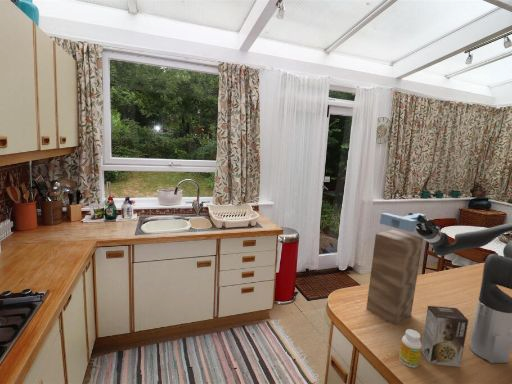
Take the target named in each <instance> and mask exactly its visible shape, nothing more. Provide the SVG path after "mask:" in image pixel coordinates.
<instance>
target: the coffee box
mask: <svg viewBox="0 0 512 384" xmlns="http://www.w3.org/2000/svg"><path fill="white" fill-rule="evenodd" d="M468 325H469V319H468V318H467V317H466V316H465V314H463V313H462V311H460V310H459V308H457V307H449V306H447V307H446V306H436V305H435V306H434V305H428V306H427V311H426V317H425V323H424V329H423V335H422V340H421V343H422V347H421V353H422V354H423V355H424V357H425V358H426V360H427V361H428V363H429V364H430V365H440V366H449V367H457V368H458V367H459V368H460V367H461V365H462V359H463V353H464V347H465V341H466V338H467V336H466V335H467V331H468Z"/></svg>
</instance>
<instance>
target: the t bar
mask: <svg viewBox="0 0 512 384" xmlns="http://www.w3.org/2000/svg"><path fill="white" fill-rule="evenodd" d="M412 214H413V215H404V216H401V215H396V214H393V213H388V212H383V213H381V214H380V220H379V224H381V225H385V226H387V227H391V228H395V229H398V230H402V231H405V232H409V233H413V232H416V224H419V223H420V222H419V221H418V220H417V218H418V215H421V216H422V217H424V218H426V219H427V214H425V213H418V212H417V213H412Z"/></svg>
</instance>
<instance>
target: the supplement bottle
mask: <svg viewBox="0 0 512 384" xmlns="http://www.w3.org/2000/svg"><path fill="white" fill-rule="evenodd" d="M421 347H422V340H421V333H420V332H418V331H417V330H415V329H411V328H408V329H406V330H405V334H404V335H403V336H402V337H401V343H400V350H399V355H398V358H399V361H400V362H401V363H403V364H404V365H405V366H407V367H410V368H417V367H419V364H420V358H421V353H422V351H421Z"/></svg>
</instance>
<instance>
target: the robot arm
mask: <svg viewBox="0 0 512 384" xmlns="http://www.w3.org/2000/svg"><path fill="white" fill-rule="evenodd" d="M413 214H414V213H413V212H409V213H408V215H413ZM408 215H407V216H408ZM417 220H418V221H419V222H420V223H419V224H416V228H415V232H416V233H417V234H418V235H419V237H421V238H423V240H425V241H426V242H427V243H429V244H430V245H431V246H432V249H433V252H434V254H435V255H437V256H440V257H442V256H448V255H451V254H453V253H456V252H458V251H462V250H467V249H468V250H469V249H476V248H482V247H484V246H487V245H489V244H490V243H491V242H493V241H494V240H495V239H497V238H498V237H500V236H501V235H503V234H506V233H509V232H512V222H508V223H505V224H499V225H496V226H492V227H488V228H484V229H481V230H480V229H479V230H474V231H467V232H461V233H456V234H455V235H454V241H453V243H452V244H451V243H450V238H449V236H448V234H447V233H445V232H443V231H441V230H440V229H441V225H439V224H438V223H436V222H435V221H433V220H432V219H427V217H426V218H424V217H422V216H421V215H418V218H417ZM502 252H503V253H502V254H503V255H501V254H500V255H499V254H496V253H491V254H488V256H487V257H486V258H485V261H484V264H483V269H482V279H481V284H480V291H479V296H478V300H477V307H476V311H475V315H474V321H473V325H472V330H471V335H470V341H469V348H470V350H471V352H473V353H474V354H475V355H477V356H478V357H480V358H481V359H484V360H486V361H488V363H489V364H502V363H503V364H506V363H509V359H510V355H511V351H512V296H510V295H509V294H507V293H506V292H505V291H503V290H502V289H501V288H499V287H503V288H506V289H508V290H512V239H510V240H509V241H508V242H507V243H506V244H505V246H504V247H503V251H502Z"/></svg>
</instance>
